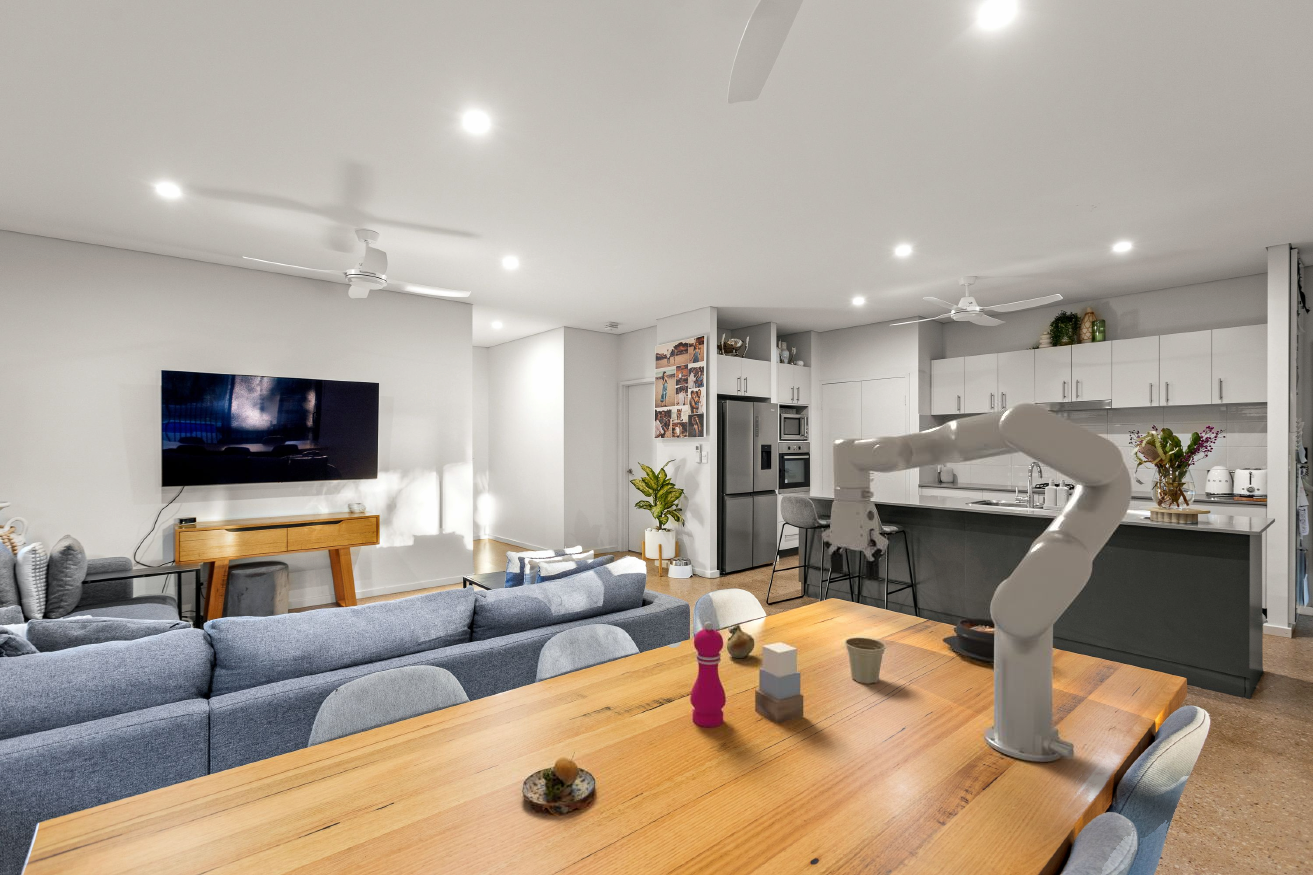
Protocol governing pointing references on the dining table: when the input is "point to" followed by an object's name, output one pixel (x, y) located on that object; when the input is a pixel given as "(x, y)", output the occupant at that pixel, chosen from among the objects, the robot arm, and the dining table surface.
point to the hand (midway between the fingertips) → (854, 575)
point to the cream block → (779, 659)
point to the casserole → (974, 639)
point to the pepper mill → (708, 679)
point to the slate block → (779, 684)
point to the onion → (739, 643)
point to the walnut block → (778, 707)
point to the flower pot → (865, 659)
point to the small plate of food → (559, 788)
